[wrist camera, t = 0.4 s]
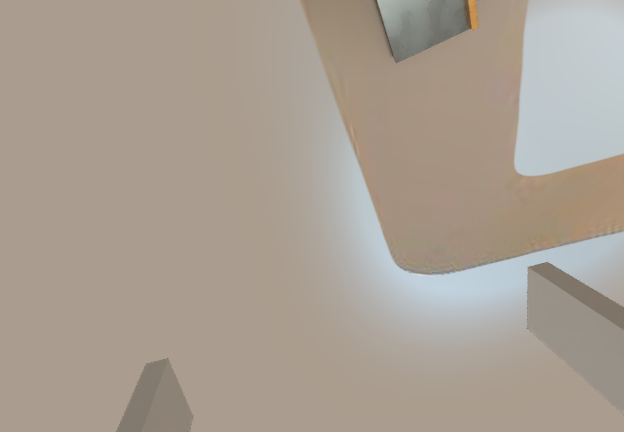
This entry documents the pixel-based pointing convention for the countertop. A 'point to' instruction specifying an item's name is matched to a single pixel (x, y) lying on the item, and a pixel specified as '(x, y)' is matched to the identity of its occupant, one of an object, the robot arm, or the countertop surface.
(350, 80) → the countertop surface
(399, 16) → the square coaster
